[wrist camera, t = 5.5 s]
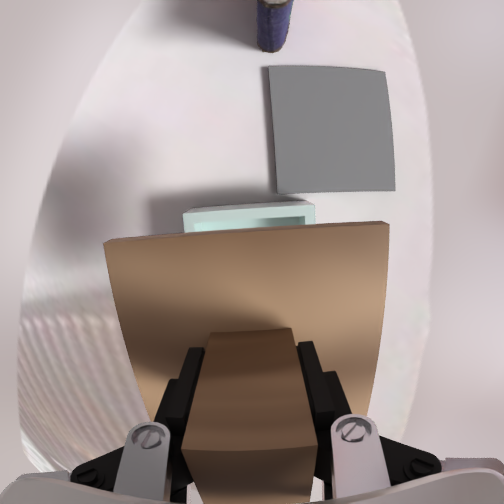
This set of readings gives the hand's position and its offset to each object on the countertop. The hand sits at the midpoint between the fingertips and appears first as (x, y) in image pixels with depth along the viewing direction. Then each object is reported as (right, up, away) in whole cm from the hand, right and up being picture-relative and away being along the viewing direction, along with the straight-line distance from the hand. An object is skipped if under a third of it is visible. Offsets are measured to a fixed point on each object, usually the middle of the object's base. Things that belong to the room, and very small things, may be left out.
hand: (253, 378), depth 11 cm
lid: (0, 0, +2) cm, 2 cm away
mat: (+7, +16, +14) cm, 22 cm away
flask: (+2, +27, +11) cm, 29 cm away
